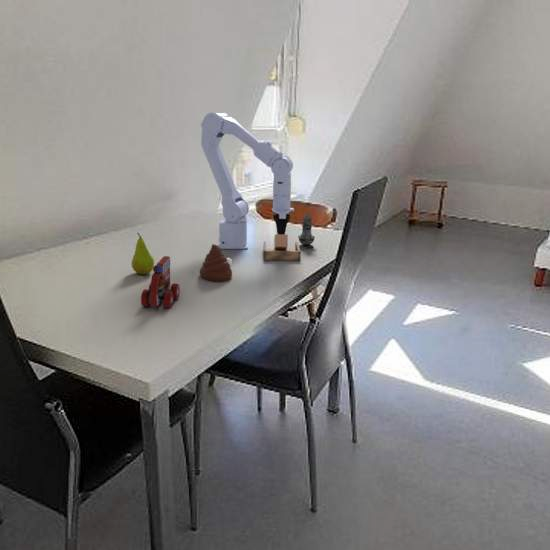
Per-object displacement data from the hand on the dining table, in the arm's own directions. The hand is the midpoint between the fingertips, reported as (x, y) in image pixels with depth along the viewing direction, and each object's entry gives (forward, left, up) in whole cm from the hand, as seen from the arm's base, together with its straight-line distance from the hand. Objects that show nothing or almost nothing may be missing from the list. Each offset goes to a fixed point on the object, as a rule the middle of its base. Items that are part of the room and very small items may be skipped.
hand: (280, 235), depth 162 cm
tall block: (0, +1, -3) cm, 3 cm away
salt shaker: (+9, +5, -5) cm, 11 cm away
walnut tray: (0, -6, -5) cm, 8 cm away
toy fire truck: (-31, -47, -5) cm, 57 cm away
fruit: (-40, -25, -5) cm, 48 cm away
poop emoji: (-19, -28, -5) cm, 34 cm away
